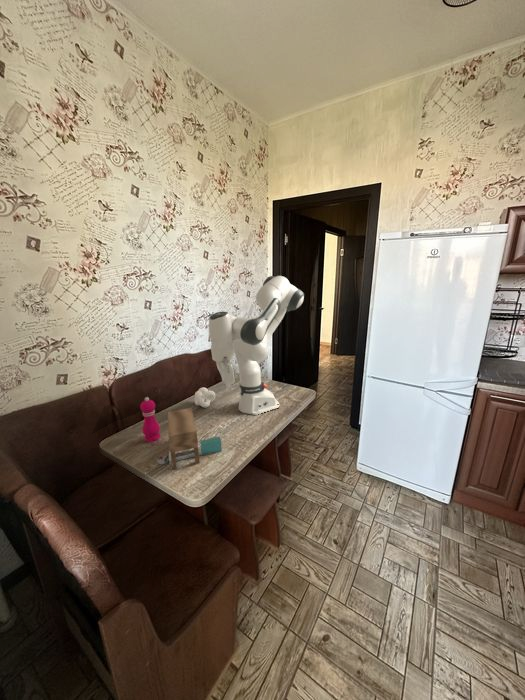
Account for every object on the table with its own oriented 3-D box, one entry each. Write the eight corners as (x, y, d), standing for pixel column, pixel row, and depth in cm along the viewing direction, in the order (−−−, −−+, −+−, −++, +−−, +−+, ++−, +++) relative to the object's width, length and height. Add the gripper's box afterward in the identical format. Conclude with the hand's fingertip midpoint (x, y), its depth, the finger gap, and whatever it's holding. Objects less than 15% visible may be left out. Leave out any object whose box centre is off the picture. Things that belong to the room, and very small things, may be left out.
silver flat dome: (169, 457, 112) (169, 454, 112) (169, 464, 108) (169, 461, 107) (157, 459, 111) (157, 457, 110) (157, 466, 106) (156, 464, 106)
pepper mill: (150, 444, 120) (144, 402, 115) (140, 440, 124) (133, 398, 119) (164, 436, 126) (159, 395, 121) (154, 432, 130) (148, 392, 124)
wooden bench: (194, 435, 126) (191, 407, 122) (199, 463, 107) (196, 430, 104) (171, 440, 123) (167, 411, 119) (172, 469, 104) (168, 436, 101)
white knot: (188, 405, 156) (187, 390, 153) (205, 398, 165) (204, 384, 162) (201, 411, 149) (200, 395, 146) (218, 403, 158) (217, 388, 155)
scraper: (219, 445, 119) (219, 434, 117) (222, 453, 113) (221, 442, 112) (169, 455, 112) (168, 445, 111) (169, 465, 107) (168, 453, 106)
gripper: (236, 360, 100) (240, 395, 104) (226, 346, 119) (229, 376, 123) (219, 363, 99) (223, 398, 103) (211, 348, 117) (215, 378, 121)
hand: (226, 386), depth 113 cm, fingers open, 8 cm apart
